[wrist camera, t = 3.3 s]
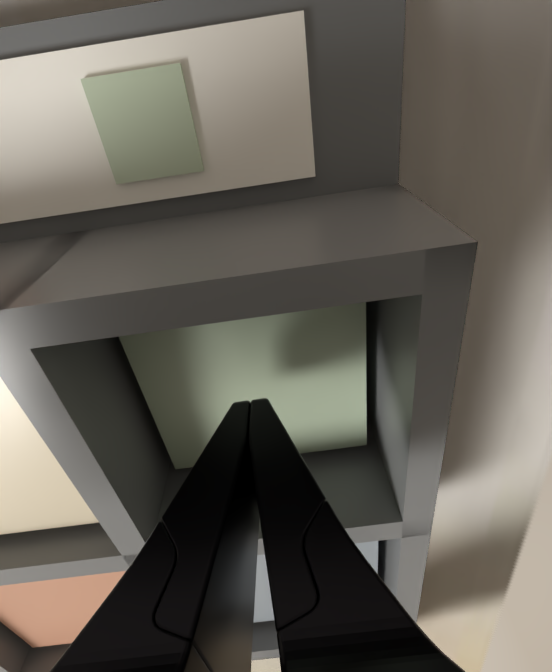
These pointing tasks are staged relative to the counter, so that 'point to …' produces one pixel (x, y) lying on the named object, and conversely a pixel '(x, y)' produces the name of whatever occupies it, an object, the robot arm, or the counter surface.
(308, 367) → the sage key
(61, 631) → the terracotta key
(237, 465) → the robot arm
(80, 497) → the sand key
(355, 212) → the grey compartment tray
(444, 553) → the counter surface
